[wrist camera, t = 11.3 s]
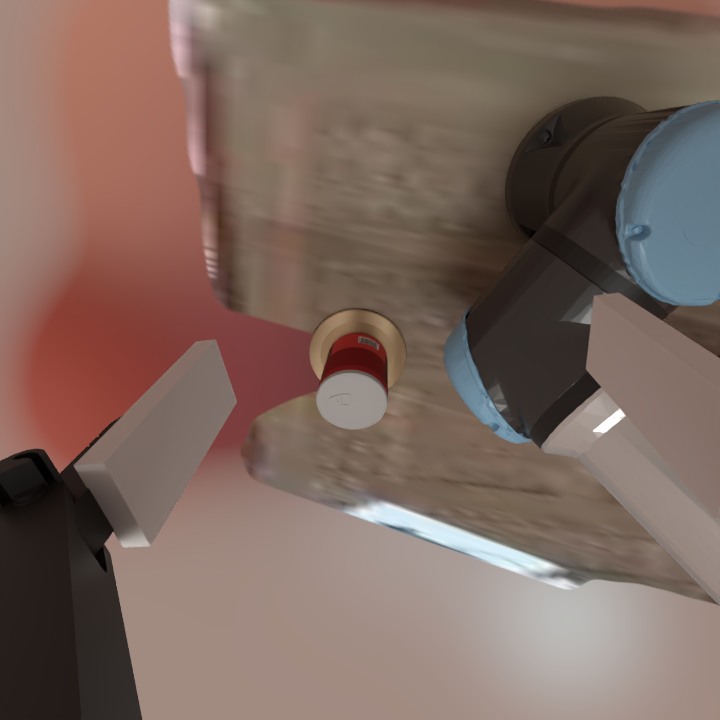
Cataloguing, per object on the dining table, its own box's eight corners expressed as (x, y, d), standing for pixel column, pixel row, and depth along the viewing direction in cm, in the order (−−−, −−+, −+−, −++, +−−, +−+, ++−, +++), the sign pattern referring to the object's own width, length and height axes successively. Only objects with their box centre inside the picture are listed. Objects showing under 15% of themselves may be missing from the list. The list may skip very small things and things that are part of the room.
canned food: (320, 339, 54) (305, 382, 44) (378, 323, 53) (376, 364, 43) (339, 387, 57) (329, 436, 48) (394, 373, 56) (395, 422, 46)
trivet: (402, 304, 52) (403, 307, 51) (408, 391, 58) (408, 394, 57) (302, 312, 54) (301, 315, 53) (318, 396, 59) (317, 400, 59)
